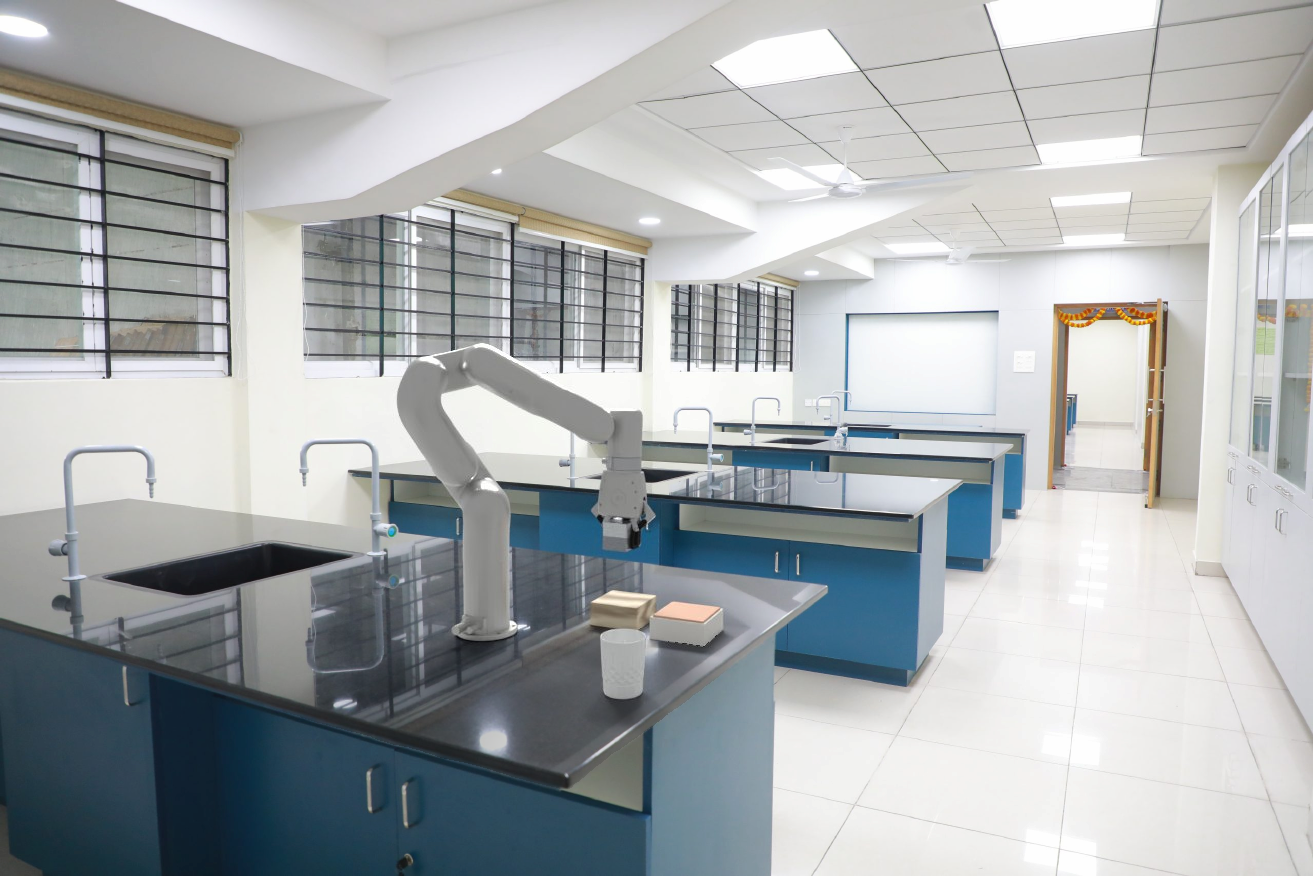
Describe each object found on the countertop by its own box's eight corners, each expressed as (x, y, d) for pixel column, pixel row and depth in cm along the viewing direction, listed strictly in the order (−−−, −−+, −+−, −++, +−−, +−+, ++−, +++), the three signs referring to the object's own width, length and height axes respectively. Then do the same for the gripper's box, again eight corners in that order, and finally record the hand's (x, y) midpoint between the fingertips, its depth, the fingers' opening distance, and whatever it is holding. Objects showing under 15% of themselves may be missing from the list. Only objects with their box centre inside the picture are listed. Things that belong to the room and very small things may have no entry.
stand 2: (704, 646, 168) (704, 622, 168) (649, 639, 173) (649, 615, 172) (722, 629, 179) (723, 607, 179) (670, 622, 184) (671, 600, 183)
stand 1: (636, 631, 177) (636, 608, 177) (590, 624, 182) (590, 602, 181) (656, 617, 188) (656, 595, 187) (612, 611, 192) (612, 590, 191)
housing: (625, 552, 178) (626, 518, 178) (602, 549, 181) (603, 516, 180) (640, 545, 186) (641, 513, 185) (618, 543, 188) (619, 511, 187)
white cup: (621, 680, 150) (621, 625, 149) (655, 691, 145) (655, 634, 144) (590, 693, 144) (590, 636, 143) (624, 705, 139) (625, 646, 138)
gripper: (581, 463, 182) (579, 545, 183) (653, 469, 175) (651, 554, 176) (596, 460, 189) (594, 539, 190) (667, 466, 182) (664, 548, 183)
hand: (621, 546), depth 183 cm, fingers closed on housing, 5 cm apart
